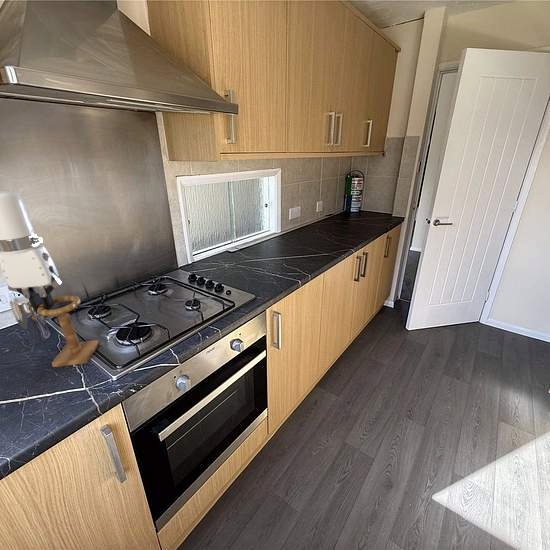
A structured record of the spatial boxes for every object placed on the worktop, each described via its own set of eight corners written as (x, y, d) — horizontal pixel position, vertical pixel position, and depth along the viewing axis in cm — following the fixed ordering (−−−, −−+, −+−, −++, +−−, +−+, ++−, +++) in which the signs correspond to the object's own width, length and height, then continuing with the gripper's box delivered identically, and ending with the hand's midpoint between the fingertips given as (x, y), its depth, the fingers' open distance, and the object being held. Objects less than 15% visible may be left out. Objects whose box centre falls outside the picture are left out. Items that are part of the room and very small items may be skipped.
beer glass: (53, 331, 98) (37, 291, 92) (55, 341, 93) (38, 299, 87) (26, 339, 94) (8, 298, 88) (27, 350, 89) (8, 307, 83)
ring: (30, 318, 75) (28, 313, 74) (50, 301, 83) (48, 296, 83) (71, 315, 76) (69, 309, 75) (86, 298, 85) (85, 293, 84)
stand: (52, 367, 81) (35, 326, 76) (68, 347, 90) (54, 309, 84) (87, 363, 83) (73, 322, 77) (99, 343, 91) (87, 305, 85)
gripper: (61, 236, 76) (82, 299, 84) (-7, 241, 74) (20, 304, 81) (45, 245, 69) (69, 312, 77) (-30, 250, 67) (2, 319, 75)
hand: (44, 308), depth 79 cm, fingers closed on ring, 2 cm apart
